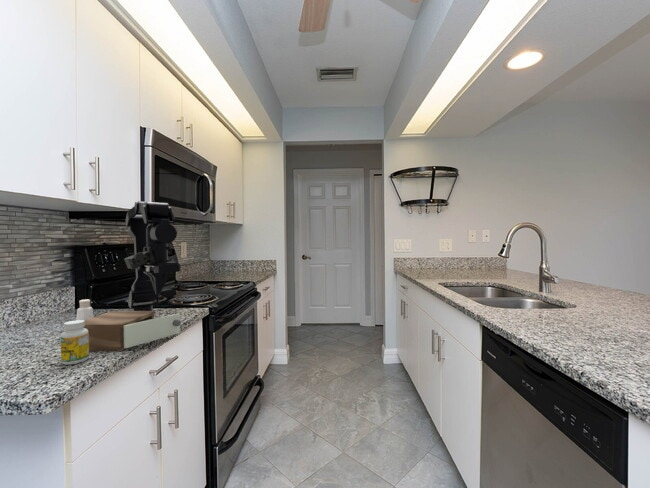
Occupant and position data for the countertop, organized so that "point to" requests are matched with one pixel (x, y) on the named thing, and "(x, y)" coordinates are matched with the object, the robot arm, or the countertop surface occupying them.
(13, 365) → the countertop surface
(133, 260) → the robot arm
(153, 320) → the side door
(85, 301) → the salt shaker
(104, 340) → the cabinet
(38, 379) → the countertop surface
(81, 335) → the supplement bottle
